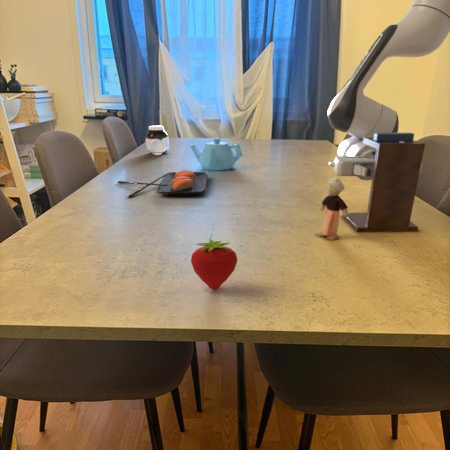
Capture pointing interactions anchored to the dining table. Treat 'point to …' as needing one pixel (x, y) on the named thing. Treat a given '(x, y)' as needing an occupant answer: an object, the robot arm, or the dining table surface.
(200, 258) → the strawberry
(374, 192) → the stand
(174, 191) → the sushi plate
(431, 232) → the dining table surface
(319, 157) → the dining table surface
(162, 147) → the spread jar
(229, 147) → the teapot
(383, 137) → the peg
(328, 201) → the grandmother figurine
